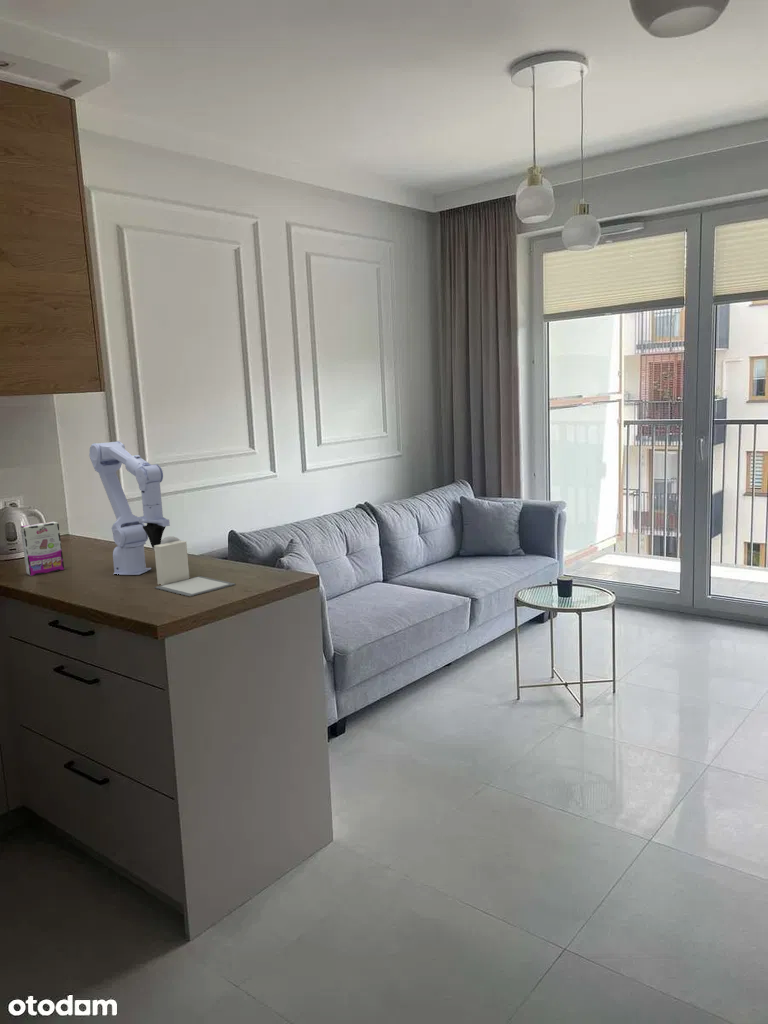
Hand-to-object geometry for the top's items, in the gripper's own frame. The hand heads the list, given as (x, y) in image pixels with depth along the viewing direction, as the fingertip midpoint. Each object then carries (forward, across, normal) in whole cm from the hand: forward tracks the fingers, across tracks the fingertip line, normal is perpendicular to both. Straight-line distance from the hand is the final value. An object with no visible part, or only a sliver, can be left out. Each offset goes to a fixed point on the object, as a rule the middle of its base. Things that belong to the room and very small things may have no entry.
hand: (156, 547), depth 237 cm
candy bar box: (+10, -43, -16) cm, 47 cm away
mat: (+10, +20, 0) cm, 22 cm away
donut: (+10, -13, +13) cm, 21 cm away
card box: (+10, +8, 0) cm, 13 cm away
